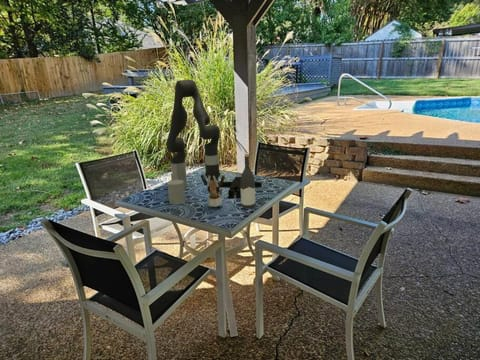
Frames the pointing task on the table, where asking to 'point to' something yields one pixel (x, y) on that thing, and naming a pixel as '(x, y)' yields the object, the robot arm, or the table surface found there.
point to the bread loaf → (213, 190)
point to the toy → (236, 187)
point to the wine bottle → (247, 185)
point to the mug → (215, 200)
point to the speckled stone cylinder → (176, 191)
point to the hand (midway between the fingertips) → (213, 192)
